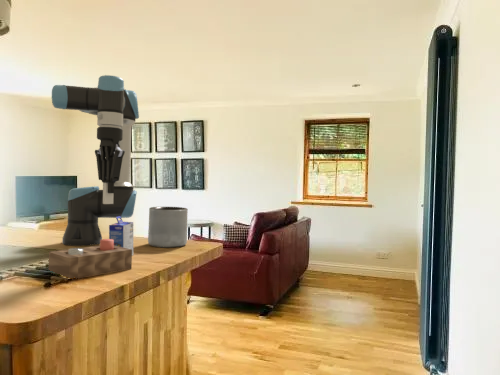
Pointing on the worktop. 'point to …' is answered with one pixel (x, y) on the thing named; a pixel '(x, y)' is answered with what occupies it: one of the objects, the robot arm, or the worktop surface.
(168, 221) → the planter
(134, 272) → the worktop surface
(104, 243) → the red plug
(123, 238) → the ink cartridge box
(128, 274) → the worktop surface
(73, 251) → the grey plug
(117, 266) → the walnut block
